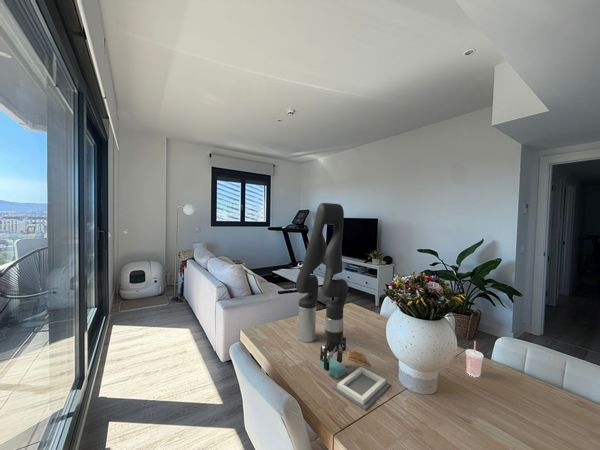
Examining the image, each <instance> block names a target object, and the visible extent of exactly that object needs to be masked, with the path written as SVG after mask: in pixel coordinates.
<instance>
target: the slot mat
mask: <svg viewBox="0 0 600 450" xmlns="http://www.w3.org/2000/svg"><path fill="white" fill-rule="evenodd" d="M391 386H392V385H391V384H390V383H389V382H388V381H387V379H386V378H383V377H382V376H380V375H378V374H376V373H374V372H373V371H370V370H369V369H366V368H364V367H363V366H360V367H357V368H356V369H354V370H353V371H352V372H350V374H348V375H346V376H345V377H344V378H342V379H341V380H339V381H338V382H337V383H336V384H335V385H332V387H331V389H332V390H333V391H335V392H336V393H338V394H339V395H341V396H342V397H344V398H346V399H347V400H349V401H350V402H351V403H353V404H354V405H355V406H358V407H359V408H361V409H363V411H367V409H369V408H370V407H371V406H372V405H373V403H374V402H376V401H377V400H378V399H379V398H380V397H381V396H382V395H383V394H384V393H385V392H386V391H387V390H388V389H389V388H391Z"/></svg>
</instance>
